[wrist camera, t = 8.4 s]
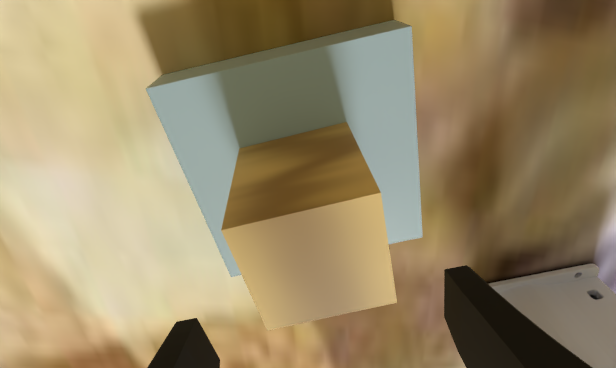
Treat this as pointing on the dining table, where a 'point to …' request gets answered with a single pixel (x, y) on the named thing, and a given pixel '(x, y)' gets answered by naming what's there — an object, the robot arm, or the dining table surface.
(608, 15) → the dining table surface
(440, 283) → the dining table surface
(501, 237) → the dining table surface
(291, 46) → the base block
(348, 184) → the ochre block
